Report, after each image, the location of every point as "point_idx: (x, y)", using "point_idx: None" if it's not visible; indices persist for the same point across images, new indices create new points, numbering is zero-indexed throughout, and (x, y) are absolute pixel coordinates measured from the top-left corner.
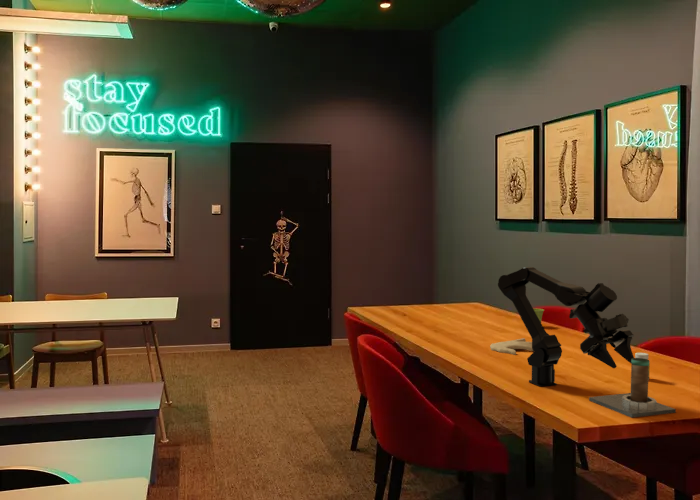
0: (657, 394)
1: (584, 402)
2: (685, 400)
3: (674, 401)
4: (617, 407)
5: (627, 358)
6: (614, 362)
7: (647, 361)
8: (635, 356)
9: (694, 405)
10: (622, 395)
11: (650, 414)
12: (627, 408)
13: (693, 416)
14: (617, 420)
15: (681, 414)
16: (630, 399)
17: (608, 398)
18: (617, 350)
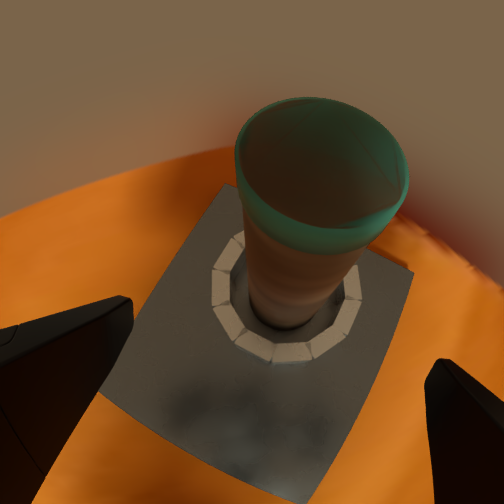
0: (24, 307)
1: (343, 498)
2: (53, 217)
3: (79, 237)
4: (378, 349)
5: (92, 376)
6: (461, 376)
7: (337, 101)
8: None
9: (97, 181)
10: (157, 409)
11: None
12: (361, 314)
13: (230, 147)
14: (464, 298)
15: (233, 174)
16: (305, 321)
17: (261, 441)
18: (22, 495)
